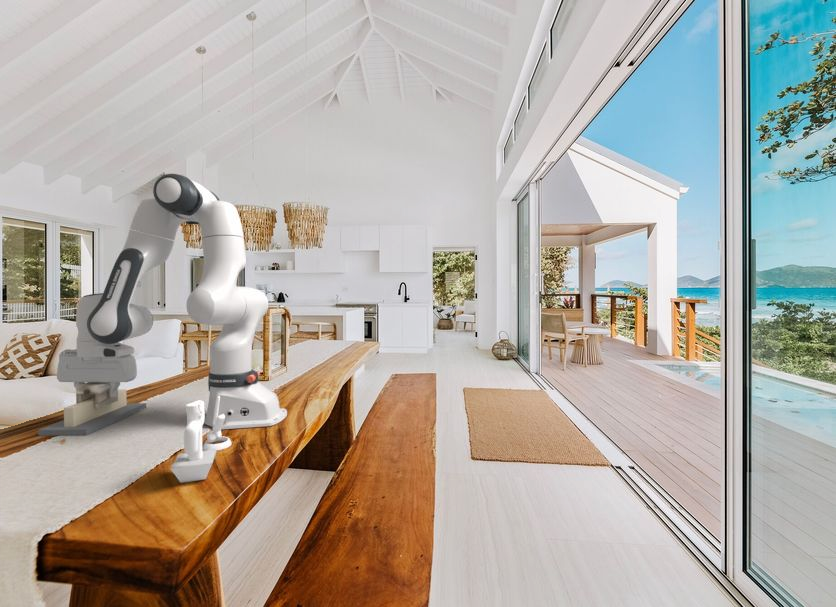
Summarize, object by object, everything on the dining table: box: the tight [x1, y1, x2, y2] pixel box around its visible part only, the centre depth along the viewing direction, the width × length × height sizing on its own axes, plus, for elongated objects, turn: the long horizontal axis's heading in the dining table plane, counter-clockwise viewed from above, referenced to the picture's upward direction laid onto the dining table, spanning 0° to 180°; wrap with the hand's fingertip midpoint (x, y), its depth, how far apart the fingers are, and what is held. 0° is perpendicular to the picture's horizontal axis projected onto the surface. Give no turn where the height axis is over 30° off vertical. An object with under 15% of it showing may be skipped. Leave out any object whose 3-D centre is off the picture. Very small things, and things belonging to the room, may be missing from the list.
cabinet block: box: [75, 382, 119, 408], centre depth 113 cm, size 6×8×6 cm
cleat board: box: [37, 388, 147, 437], centre depth 114 cm, size 12×24×6 cm, turn 2°
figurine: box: [169, 400, 218, 484], centre depth 79 cm, size 7×9×15 cm
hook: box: [202, 414, 232, 451], centre depth 94 cm, size 6×10×6 cm
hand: (97, 397), depth 114 cm, fingers closed on cabinet block, 6 cm apart
